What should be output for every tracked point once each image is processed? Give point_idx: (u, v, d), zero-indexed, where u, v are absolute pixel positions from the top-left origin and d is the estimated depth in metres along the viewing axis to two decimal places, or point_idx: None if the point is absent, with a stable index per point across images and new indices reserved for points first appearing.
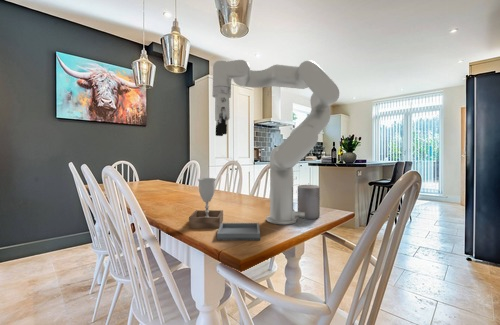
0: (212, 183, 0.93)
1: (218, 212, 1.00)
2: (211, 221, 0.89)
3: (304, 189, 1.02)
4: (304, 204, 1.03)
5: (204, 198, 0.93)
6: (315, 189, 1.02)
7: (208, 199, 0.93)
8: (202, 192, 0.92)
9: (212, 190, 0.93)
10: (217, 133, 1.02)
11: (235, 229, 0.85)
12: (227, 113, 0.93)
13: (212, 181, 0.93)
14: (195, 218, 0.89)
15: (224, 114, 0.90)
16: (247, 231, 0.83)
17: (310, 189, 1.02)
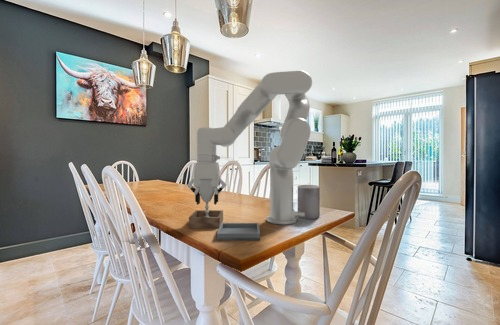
0: None
1: (218, 212, 1.00)
2: (211, 221, 0.89)
3: (304, 189, 1.02)
4: (304, 204, 1.03)
5: (204, 198, 0.93)
6: (315, 189, 1.02)
7: (208, 199, 0.93)
8: (202, 192, 0.92)
9: (212, 190, 0.93)
10: (198, 201, 0.94)
11: (235, 229, 0.85)
12: None
13: None
14: (195, 218, 0.89)
15: None
16: (247, 231, 0.83)
17: (310, 189, 1.02)
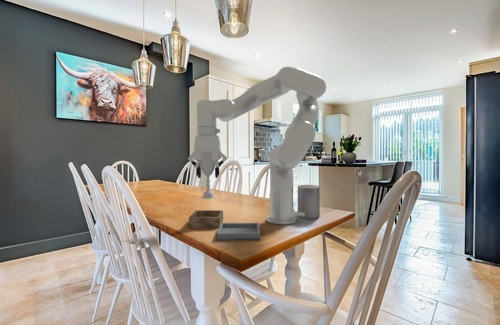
0: None
1: (218, 212, 1.00)
2: (211, 221, 0.89)
3: (304, 189, 1.02)
4: (304, 204, 1.03)
5: (205, 171, 0.93)
6: (315, 189, 1.02)
7: (209, 172, 0.93)
8: (203, 165, 0.92)
9: (213, 163, 0.93)
10: (199, 175, 0.94)
11: (235, 229, 0.85)
12: None
13: None
14: (195, 218, 0.89)
15: (225, 160, 0.94)
16: (247, 231, 0.83)
17: (310, 189, 1.02)
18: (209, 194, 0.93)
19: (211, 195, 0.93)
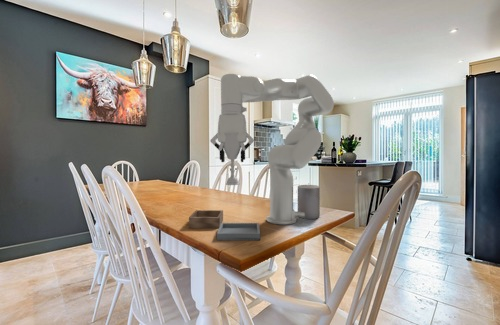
0: None
1: (218, 212, 1.00)
2: (211, 221, 0.89)
3: (304, 189, 1.02)
4: (304, 204, 1.03)
5: (229, 154, 0.83)
6: (315, 189, 1.02)
7: (234, 156, 0.83)
8: (227, 148, 0.82)
9: (238, 145, 0.82)
10: (223, 159, 0.84)
11: (235, 229, 0.85)
12: None
13: None
14: (195, 218, 0.89)
15: (252, 142, 0.84)
16: (247, 231, 0.83)
17: (310, 189, 1.02)
18: (234, 180, 0.83)
19: (236, 181, 0.83)
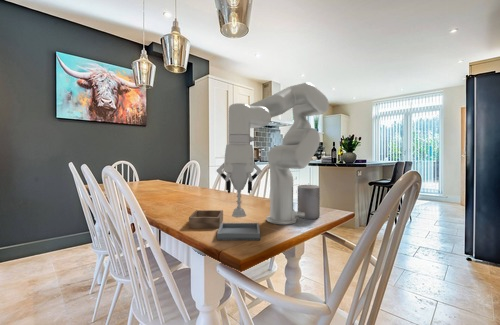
0: None
1: (218, 212, 1.00)
2: (211, 221, 0.89)
3: (304, 189, 1.02)
4: (304, 204, 1.03)
5: (236, 186, 0.80)
6: (315, 189, 1.02)
7: (241, 187, 0.80)
8: (234, 179, 0.80)
9: (246, 176, 0.80)
10: (230, 190, 0.81)
11: (235, 229, 0.85)
12: None
13: None
14: (195, 218, 0.89)
15: (259, 173, 0.82)
16: (247, 231, 0.83)
17: (310, 189, 1.02)
18: (240, 212, 0.81)
19: (242, 213, 0.81)
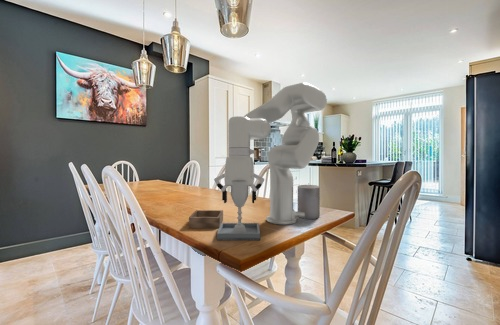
0: None
1: (218, 212, 1.00)
2: (211, 221, 0.89)
3: (304, 189, 1.02)
4: (304, 204, 1.03)
5: (237, 202, 0.81)
6: (315, 189, 1.02)
7: (242, 204, 0.81)
8: (235, 196, 0.80)
9: (246, 193, 0.81)
10: (226, 200, 0.81)
11: None
12: None
13: None
14: (195, 218, 0.89)
15: None
16: (247, 231, 0.83)
17: (310, 189, 1.02)
18: (241, 229, 0.81)
19: (243, 230, 0.81)
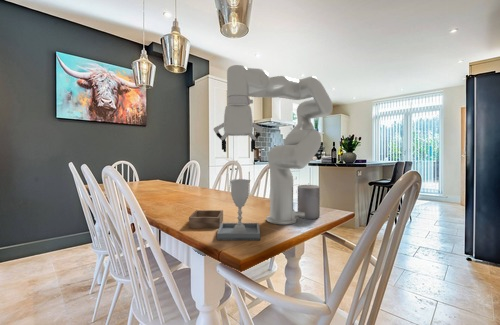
0: (247, 185, 0.80)
1: (218, 212, 1.00)
2: (211, 221, 0.89)
3: (304, 189, 1.02)
4: (304, 204, 1.03)
5: (237, 202, 0.81)
6: (315, 189, 1.02)
7: (242, 204, 0.81)
8: (235, 196, 0.80)
9: (247, 193, 0.81)
10: (225, 149, 0.83)
11: None
12: None
13: (247, 183, 0.80)
14: (195, 218, 0.89)
15: (261, 131, 0.84)
16: (247, 231, 0.83)
17: (310, 189, 1.02)
18: (241, 229, 0.81)
19: (243, 230, 0.81)
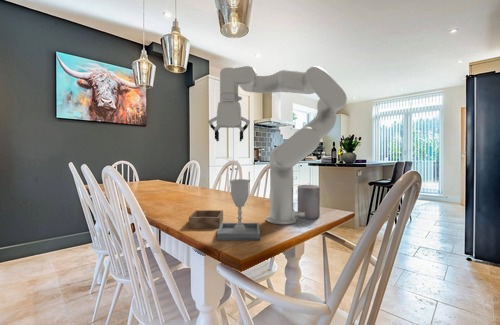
0: (246, 185, 0.80)
1: (218, 212, 1.00)
2: (211, 221, 0.89)
3: (304, 189, 1.02)
4: (304, 204, 1.03)
5: (237, 202, 0.81)
6: (315, 189, 1.02)
7: (242, 204, 0.81)
8: (235, 196, 0.80)
9: (246, 193, 0.81)
10: (218, 138, 0.98)
11: None
12: None
13: (247, 183, 0.80)
14: (195, 218, 0.89)
15: None
16: (247, 231, 0.83)
17: (310, 189, 1.02)
18: (241, 229, 0.81)
19: (243, 230, 0.81)
